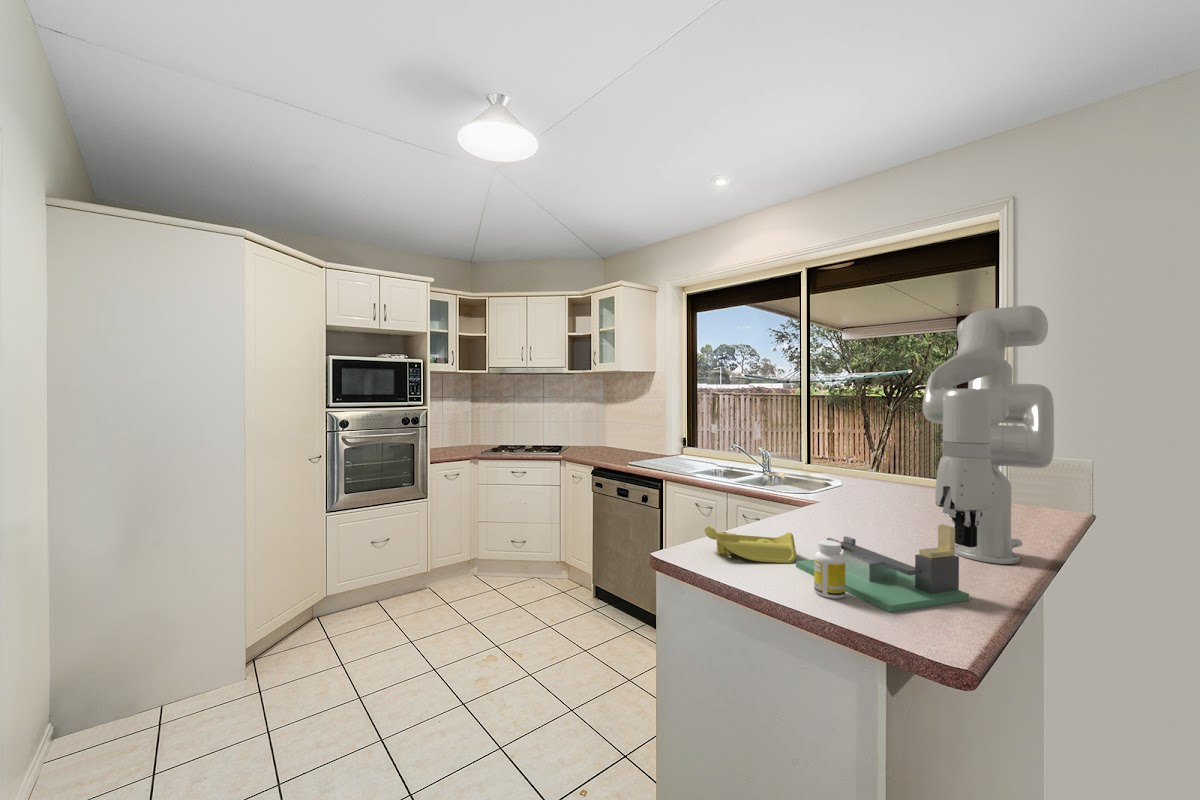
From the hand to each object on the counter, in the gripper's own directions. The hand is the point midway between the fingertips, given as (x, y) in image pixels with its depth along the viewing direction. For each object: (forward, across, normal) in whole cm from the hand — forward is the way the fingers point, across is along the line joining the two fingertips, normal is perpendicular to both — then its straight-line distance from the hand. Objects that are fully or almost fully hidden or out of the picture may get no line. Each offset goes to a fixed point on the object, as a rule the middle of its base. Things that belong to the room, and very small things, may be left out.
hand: (965, 545), depth 94 cm
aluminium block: (+8, +13, -10) cm, 18 cm away
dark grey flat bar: (+4, +13, -9) cm, 17 cm away
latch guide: (+8, +7, 0) cm, 11 cm away
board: (+9, +13, -9) cm, 18 cm away
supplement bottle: (+9, +27, -6) cm, 29 cm away
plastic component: (+10, +28, -31) cm, 43 cm away
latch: (+1, +7, 0) cm, 7 cm away
